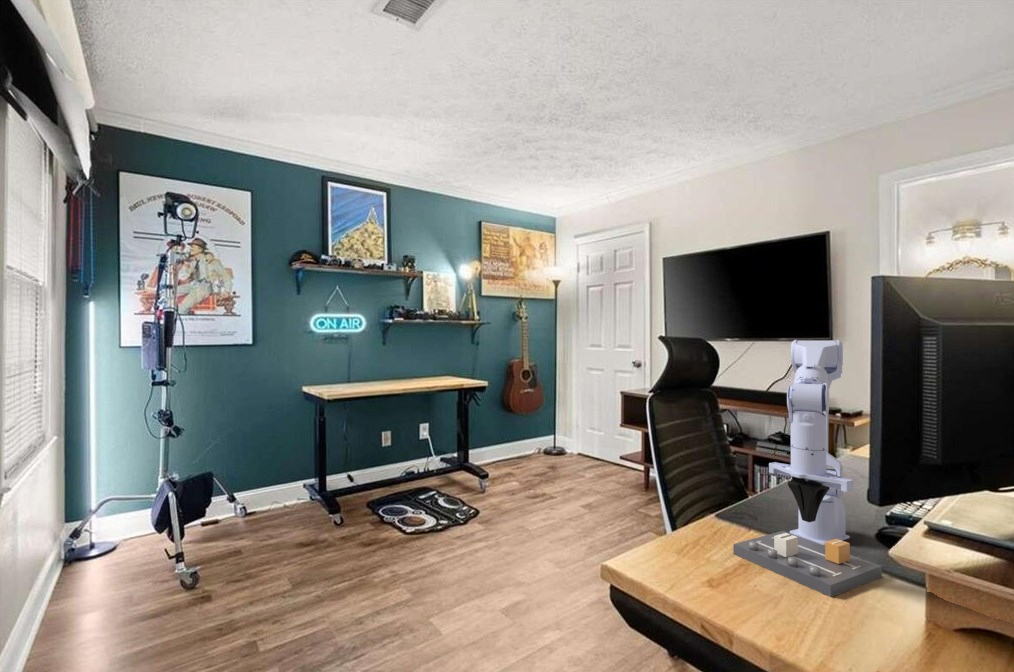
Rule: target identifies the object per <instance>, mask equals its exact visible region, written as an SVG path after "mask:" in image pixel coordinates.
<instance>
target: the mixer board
mask: <svg viewBox="0 0 1014 672" xmlns="http://www.w3.org/2000/svg"><path fill="white" fill-rule="evenodd" d="M784 533H788V534H790V535H793V536H796V535H794V534H791V533H790V532H788V531H785V530H781V531H777V532H773V533H770V534H765V535H763V536H759V537H758V536H757V537H755V538H751V539H747V540H743V541H740V542H736V543H733V546H732V547H733V548H732V549H733V552H732V553H733V554H734V555H735V556H737V557H740V558H742V559H744V560H747V561H748V562H751V563H753V564H756V565H757V566H760V567H762V568H765V569H767V570H769V571H770V572H773V573H776V574H778V575H780V576H782V577H785V578H787V579H789V580H791V581H794V582H796V583H798V584H800V585H802V586H805V587H808V588H810V589H812V590H814V591H816V592H819V593H821V594H822V595H825V596H828V597H829V598H832V597H834V596H836V595H839V594H842V593H844V592H847V591H850V590H852V589H855V588H857V587H860V586H863V585H865V584H868V583H870V582H873V581H876V580H878V579H881V578H883V566H882V565H880V564H877V563H876V562H875V563H874V562H872V561H869V560H865V559H864V558H863V559H862V558H860V557H858V556H855V555H852V554H850V560H849V561H846V562H843V563H840V564H837V563H835V562H832V561H829V560H827V559H825V545H822V544H819V543H816V542H813V541H810V540H808V539H805V538H802V537H799V536H796V537H798V554H796V555H792V556H789V557H784V556H782V555H779V554H777V550H774V536H776V535H780V534H784Z"/></svg>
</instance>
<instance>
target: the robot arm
mask: <svg viewBox="0 0 1014 672" xmlns="http://www.w3.org/2000/svg"><path fill="white" fill-rule="evenodd" d="M843 344H844V343H843V342H842V341H841V340H840V339H836V340H834V339H833V340H798V339H793V341H792V342H791V344H790V361H791V362H790V363H791V365H792V371H793V373H794V377H793V378H794V379H793V383H792V385H788V386H787V390H786V406H787V411H788V421H789V423H790V464H787V463H782V462H781V463H780V462H777V461H774V462H769V463H768V473H770V474H773V475H775V474H777V475H781V476H783V477H788V478H790V480H788V481H787V487H788V488H789V489H790V491H791V492H792V495H793V497H794V499H795V501H796V504H797V506H798V507H797V508H798V519H797V520H798V528H796V529H792V530H789V533H791V534H794V535H796V536H799V537H802V538H805V539H808V540H810V541H813V542H816V543H819V544H822V545H824V546H825V542H827V541H830V540H833V539H839V540H842V541H845V540H849V539H850V538H851V537H850V535H847V534H846V508H845V507H846V506H845V505H844V503H843V502H842V500H841V499H842V498H844V493H850V492H853V491H854V479H851V478H847V477H844V472H843V470H844V467H843V465H842V462H841V461H840V460H838V459H837V457H834V455H832V454H831V453H829V410H830V387H831V385H832V382H833V381H835V380H837V379H841V378H842V374H843V365H844V362H843V361H844V360H843V359H844V357H843V356H844V350H843V349H844V347H843V346H844V345H843ZM827 467H829V468H827Z"/></svg>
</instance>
